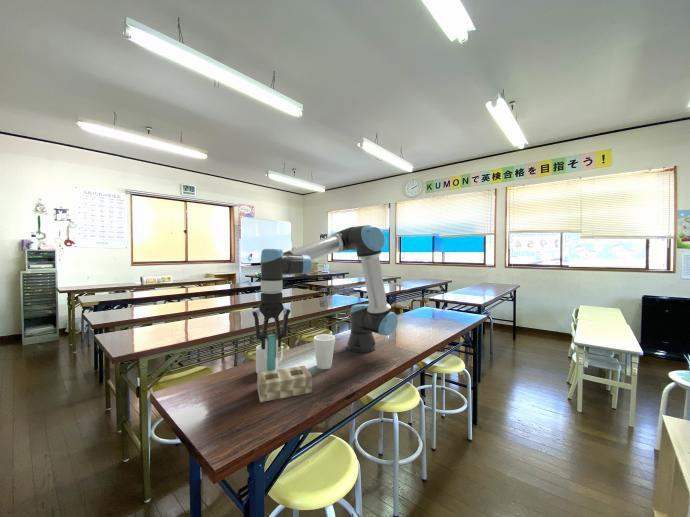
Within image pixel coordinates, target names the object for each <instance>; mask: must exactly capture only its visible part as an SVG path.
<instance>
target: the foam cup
mask: <svg viewBox="0 0 690 517" xmlns="http://www.w3.org/2000/svg"><path fill="white" fill-rule="evenodd" d="M335 344H336V337H335V335H334V334H333V335H332V334H327V333H325V334H322V333H321V334H317V335H314V337H313V345H314V353H315V360H316V367H317V369H319V370H329V369H331V368H332V364H333V357H334V348H335Z"/></svg>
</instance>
